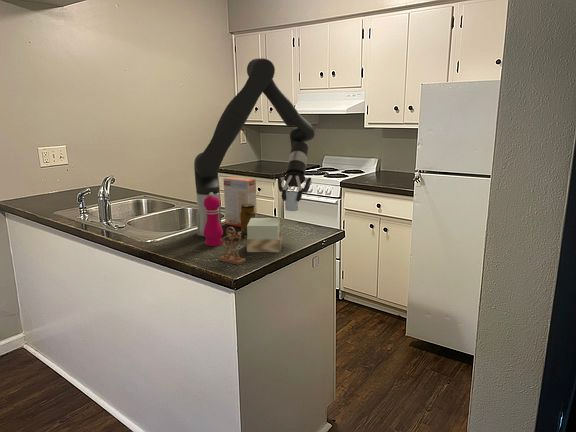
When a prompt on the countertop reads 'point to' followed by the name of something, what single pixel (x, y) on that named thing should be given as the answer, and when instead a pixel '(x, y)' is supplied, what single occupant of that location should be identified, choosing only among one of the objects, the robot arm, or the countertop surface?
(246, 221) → the condiment
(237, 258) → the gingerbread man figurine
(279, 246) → the maple base block
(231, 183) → the cracker box
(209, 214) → the pepper mill
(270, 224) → the sage top block
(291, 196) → the blue round block
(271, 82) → the robot arm
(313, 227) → the countertop surface
